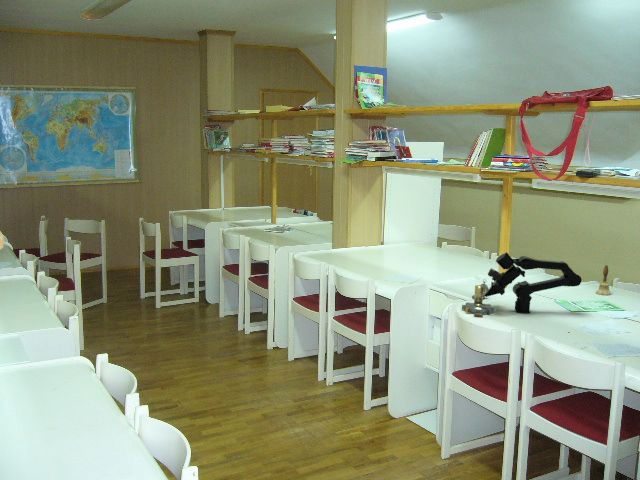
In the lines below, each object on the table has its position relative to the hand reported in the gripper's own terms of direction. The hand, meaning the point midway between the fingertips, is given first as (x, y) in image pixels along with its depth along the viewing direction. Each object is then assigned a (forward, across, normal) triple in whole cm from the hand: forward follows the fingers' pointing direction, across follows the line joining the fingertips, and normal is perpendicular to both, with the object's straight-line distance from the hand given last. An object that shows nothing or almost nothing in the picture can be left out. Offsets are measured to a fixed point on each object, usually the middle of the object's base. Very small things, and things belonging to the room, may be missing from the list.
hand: (485, 296), depth 332 cm
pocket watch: (+6, -23, +4) cm, 24 cm away
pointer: (+7, +15, +3) cm, 17 cm away
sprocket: (+7, +5, +3) cm, 9 cm away
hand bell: (-42, -53, +51) cm, 84 cm away
